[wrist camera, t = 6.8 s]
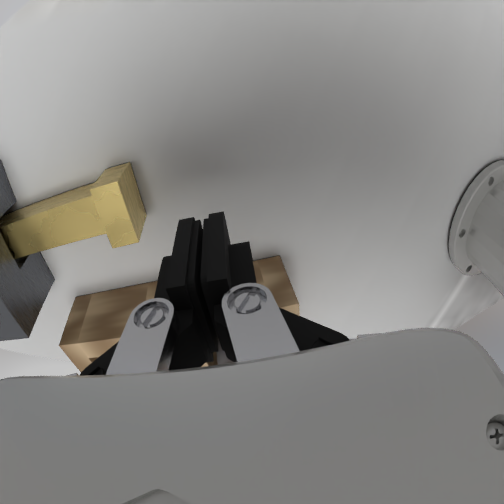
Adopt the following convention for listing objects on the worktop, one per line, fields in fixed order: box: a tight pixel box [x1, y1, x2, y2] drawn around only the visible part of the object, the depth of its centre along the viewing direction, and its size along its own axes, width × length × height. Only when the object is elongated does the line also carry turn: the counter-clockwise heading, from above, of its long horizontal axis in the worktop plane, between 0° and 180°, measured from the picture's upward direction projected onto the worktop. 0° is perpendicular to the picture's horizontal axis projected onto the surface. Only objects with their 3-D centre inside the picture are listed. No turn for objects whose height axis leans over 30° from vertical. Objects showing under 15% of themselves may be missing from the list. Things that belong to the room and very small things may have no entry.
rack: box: [59, 256, 300, 372], centre depth 19 cm, size 16×8×12 cm, turn 98°
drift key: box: [0, 162, 146, 259], centre depth 16 cm, size 12×4×3 cm, turn 98°
